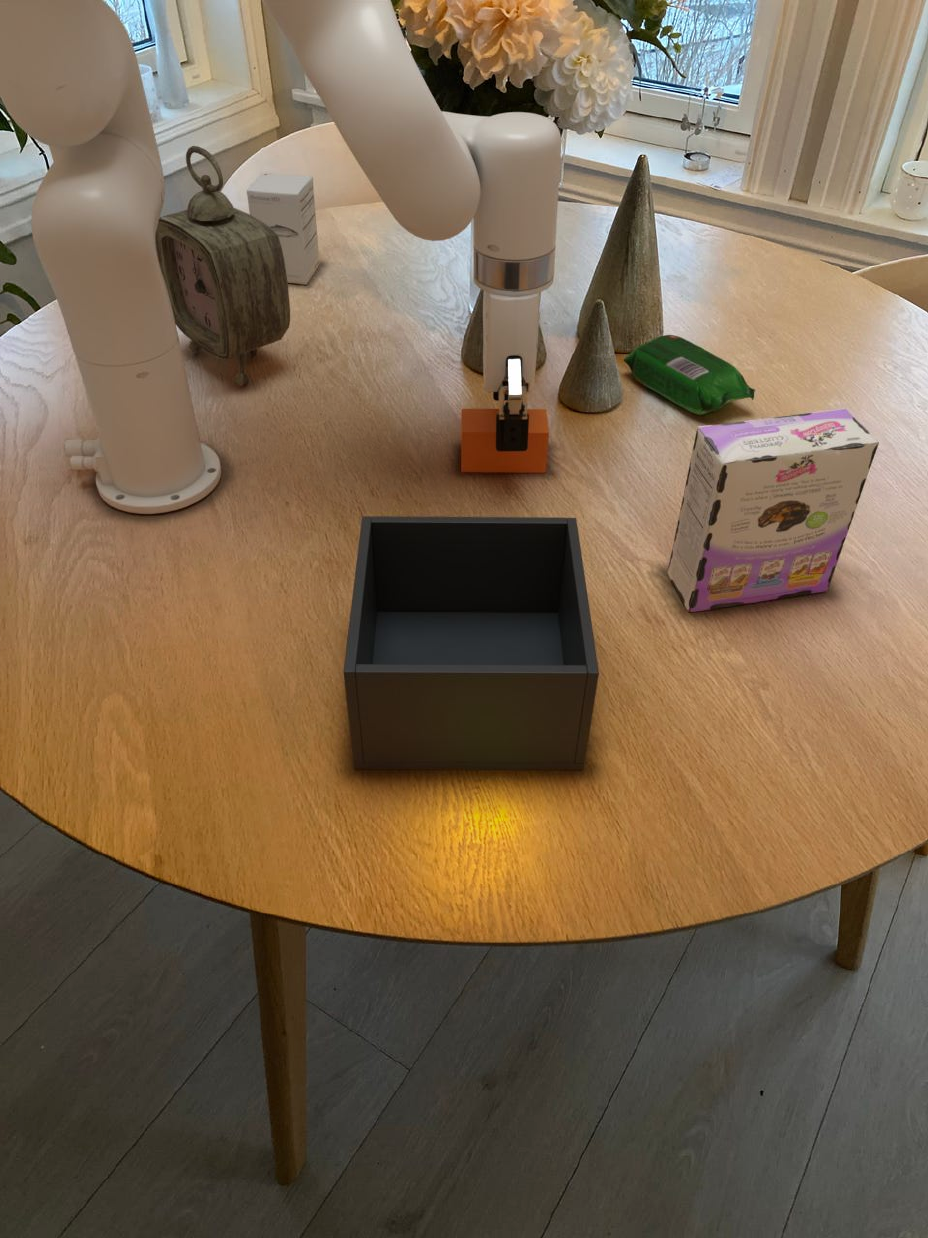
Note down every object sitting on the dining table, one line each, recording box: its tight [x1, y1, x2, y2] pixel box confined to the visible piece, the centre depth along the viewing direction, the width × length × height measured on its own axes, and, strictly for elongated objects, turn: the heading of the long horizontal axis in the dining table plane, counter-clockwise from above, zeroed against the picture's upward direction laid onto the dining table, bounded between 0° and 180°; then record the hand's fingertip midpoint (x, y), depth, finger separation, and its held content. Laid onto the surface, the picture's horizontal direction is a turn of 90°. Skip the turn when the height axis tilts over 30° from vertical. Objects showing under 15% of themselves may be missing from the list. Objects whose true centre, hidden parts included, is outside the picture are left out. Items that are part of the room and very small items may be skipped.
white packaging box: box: [246, 172, 320, 286], centre depth 133 cm, size 7×7×13 cm
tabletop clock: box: [155, 145, 291, 388], centre depth 110 cm, size 14×9×25 cm, turn 42°
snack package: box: [622, 334, 756, 416], centre depth 112 cm, size 7×16×5 cm, turn 35°
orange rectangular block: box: [460, 408, 550, 474], centre depth 102 cm, size 9×5×5 cm, turn 90°
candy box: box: [666, 407, 880, 613], centre depth 84 cm, size 14×6×16 cm, turn 102°
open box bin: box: [342, 515, 600, 771], centre depth 76 cm, size 18×18×11 cm
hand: (509, 423), depth 101 cm, fingers open, 9 cm apart
